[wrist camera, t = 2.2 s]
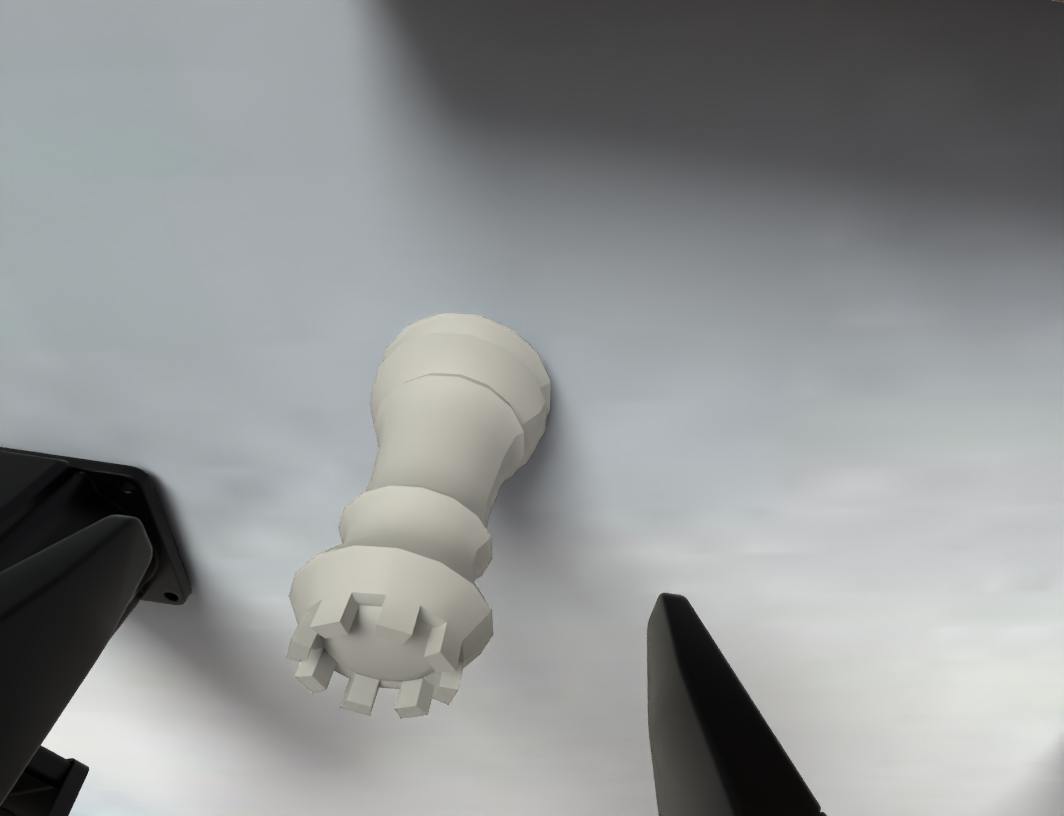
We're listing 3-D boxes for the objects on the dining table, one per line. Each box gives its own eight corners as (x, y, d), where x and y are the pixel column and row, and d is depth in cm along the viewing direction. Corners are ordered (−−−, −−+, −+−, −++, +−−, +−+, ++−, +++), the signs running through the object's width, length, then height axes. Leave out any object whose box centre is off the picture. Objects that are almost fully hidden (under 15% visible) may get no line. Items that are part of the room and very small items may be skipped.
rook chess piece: (535, 290, 13) (485, 561, 6) (565, 439, 15) (551, 747, 9) (359, 317, 14) (152, 583, 7) (414, 456, 16) (297, 749, 10)
